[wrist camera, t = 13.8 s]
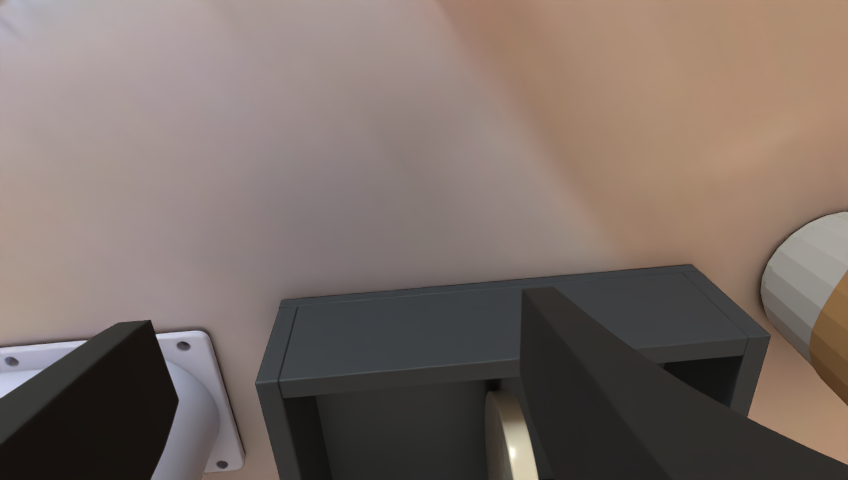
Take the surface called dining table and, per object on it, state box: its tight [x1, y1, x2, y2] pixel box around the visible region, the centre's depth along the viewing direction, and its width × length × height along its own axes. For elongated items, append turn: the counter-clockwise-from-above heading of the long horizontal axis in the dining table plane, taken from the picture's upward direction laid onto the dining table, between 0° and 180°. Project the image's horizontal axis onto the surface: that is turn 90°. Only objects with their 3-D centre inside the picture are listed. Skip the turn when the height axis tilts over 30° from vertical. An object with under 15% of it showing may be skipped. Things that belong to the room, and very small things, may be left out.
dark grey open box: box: [255, 265, 771, 480], centre depth 23 cm, size 18×13×5 cm
